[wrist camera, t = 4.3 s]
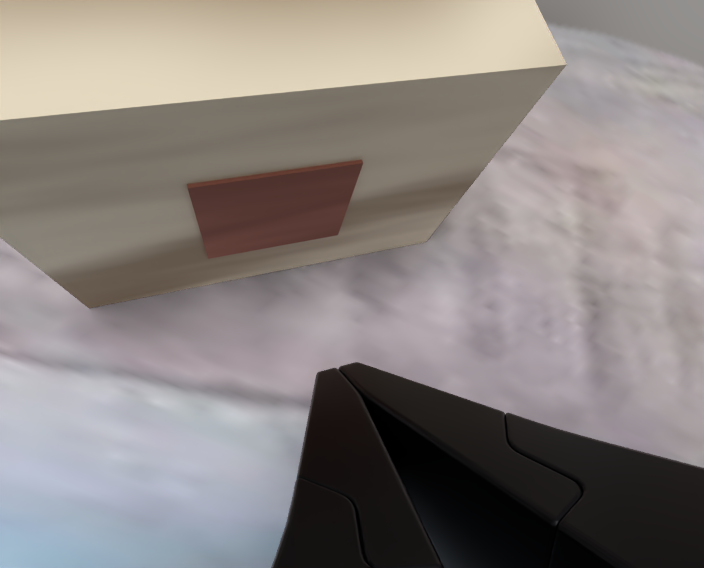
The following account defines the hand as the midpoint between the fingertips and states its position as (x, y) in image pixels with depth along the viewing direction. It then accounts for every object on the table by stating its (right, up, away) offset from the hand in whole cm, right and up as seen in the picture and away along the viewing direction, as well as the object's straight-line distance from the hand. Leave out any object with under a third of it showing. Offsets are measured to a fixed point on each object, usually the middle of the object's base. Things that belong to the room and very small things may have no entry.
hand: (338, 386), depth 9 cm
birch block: (-3, +5, +8) cm, 10 cm away
